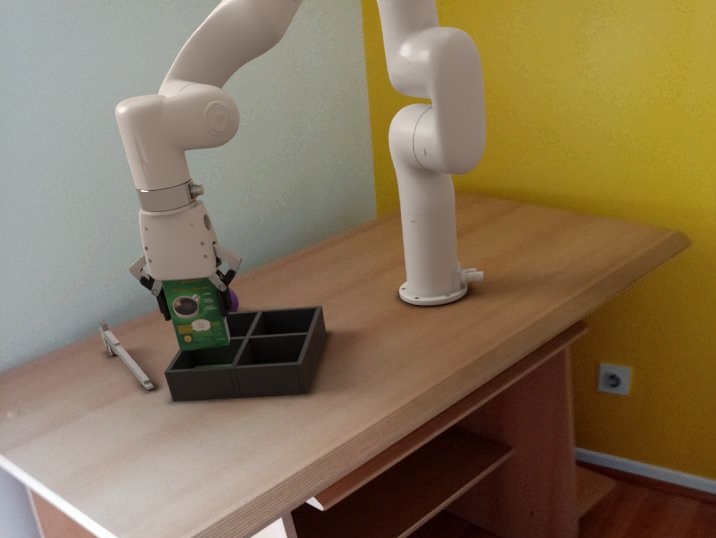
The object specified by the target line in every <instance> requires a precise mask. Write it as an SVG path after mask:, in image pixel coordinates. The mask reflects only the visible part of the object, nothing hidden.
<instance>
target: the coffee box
mask: <svg viewBox="0 0 716 538" xmlns="http://www.w3.org/2000/svg"><path fill="white" fill-rule="evenodd" d="M162 285H163V289H164V293H165V296H166V300H167V304H168V308H169V311H170V315H171V322H172V326H173V330H174V332H175V333H174V334H175V336H176V337H175V338H176V341H177V344H178V348H179V349H180V351H193V350H196V349H204V348H212V347H221V346H229V345H230V334H229V330H228V325H227V320H226V317H223V316H221V312H220V308H219V304H218V300H217V296H216V292H217V290H218V288H217V287H216V286H215V285H214V284H213V283H212V282H211V281H210V280H209V279H208V278H199V279H186V280H170V281H162Z"/></svg>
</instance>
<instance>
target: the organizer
mask: <svg viewBox="0 0 716 538" xmlns="http://www.w3.org/2000/svg"><path fill="white" fill-rule="evenodd" d="M226 320H227V325H228V330H229V334H230V345H229V346H221V347H212V348H204V349H196V350H193V351H180V348H179V349H178V350H177V352H176V353H175V355H174V357H173V358H172V359H171V361H170V363H169V364H168V366H167V367H166V368H165V371H164V373H163V374H164V378H165V380H166V383H167V386H168V390H169V393H170V395H171V400H172V402H180V401H198V400H199V401H200V400H201V401H202V400H217V399H233V398H235V399H237V398H252V397H253V398H254V397H273V396H289V395H291V396H292V395H305V394H308V391H309V389H310V385H311V383H312V379H313V377H314V376H313V375H314V372H315V370H316V366H317V364H318V360H319V357H320V354H321V350H322V348H323V344H324V341H325V337H326V336H327V328H326V322H325V316H324V311H323V305H312V306H300V307H299V306H298V307H297V306H296V307H285V308H272V309H271V308H270V309H258V310H256V309H255V310H242V311H237V312H229V314H228V315H227V317H226Z"/></svg>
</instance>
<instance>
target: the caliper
mask: <svg viewBox="0 0 716 538" xmlns="http://www.w3.org/2000/svg"><path fill="white" fill-rule="evenodd" d="M98 328H99V331H100V335H101V338H102V340H103V345H104V346H105V349H106V351H107V353H109V354H110V356H111V357H112V356H114V355H116V357H119V358H120V359H121V361H123V363H124V364H125V365H126V367H128V369H129V370H130V372H131V373H132V374H133V375H134V376H135V377H136V379H137V380H138V381H139V383H140V384H141V385H142V386H143V388H144V389H147V390H148V391H149V390H152V389H154V384H153V383H152V382H151V380H150V378H149V377H148V376H147V375H146V373H145V372H144V371H143V370H142V369H141V367H140V366H139V365H138V363H136V361H135V360H134V359H133V358H132V357H131V355H130V354H129V353H128V352H127V350H126V349H125V348H124V347H123V346H122V345H121V343H120V341H119V340H118V338H117V337H116V336H115V335H114V333H112V331H111V330H110V329H109V327H108V323H106V322H105V320H100V321H98Z"/></svg>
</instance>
